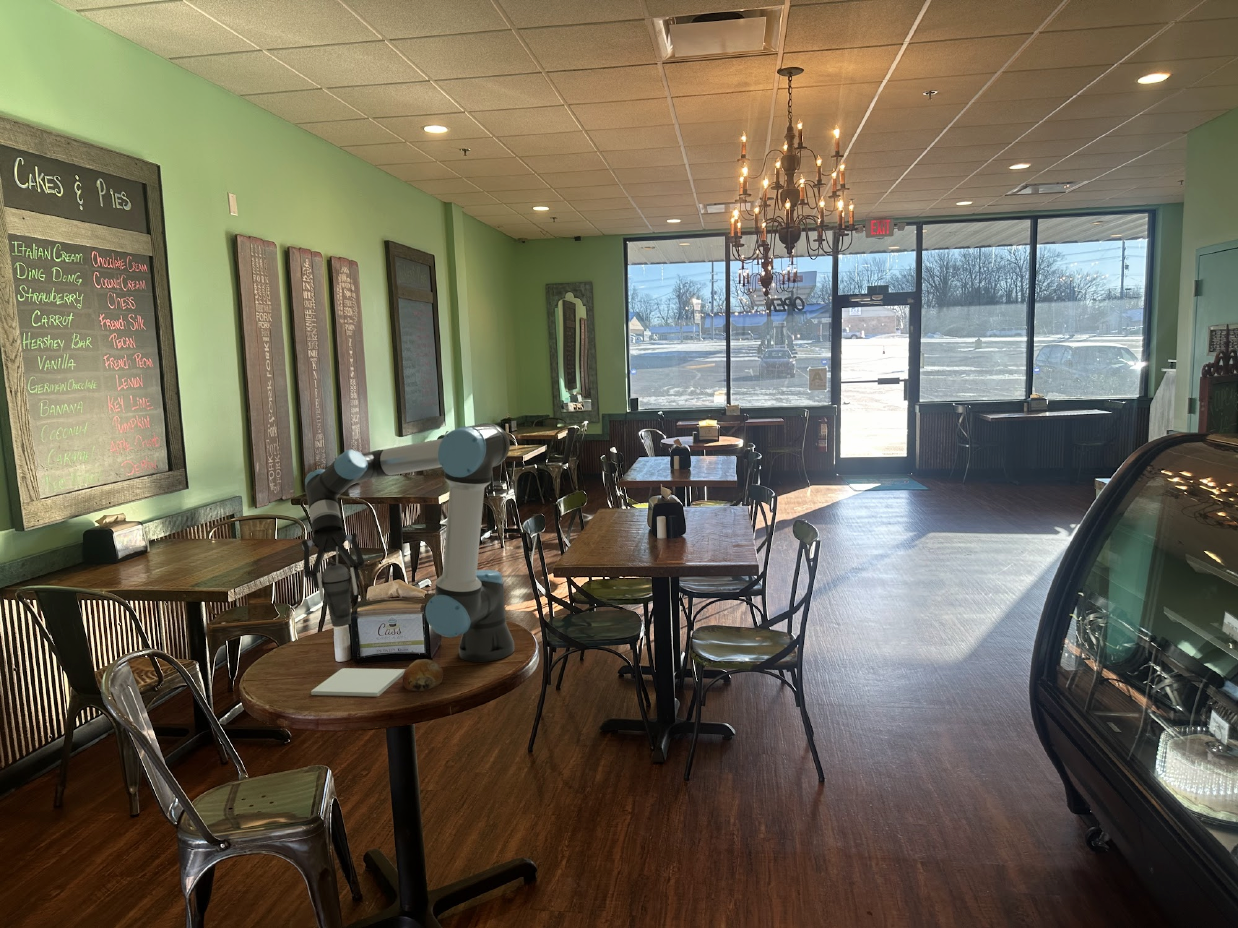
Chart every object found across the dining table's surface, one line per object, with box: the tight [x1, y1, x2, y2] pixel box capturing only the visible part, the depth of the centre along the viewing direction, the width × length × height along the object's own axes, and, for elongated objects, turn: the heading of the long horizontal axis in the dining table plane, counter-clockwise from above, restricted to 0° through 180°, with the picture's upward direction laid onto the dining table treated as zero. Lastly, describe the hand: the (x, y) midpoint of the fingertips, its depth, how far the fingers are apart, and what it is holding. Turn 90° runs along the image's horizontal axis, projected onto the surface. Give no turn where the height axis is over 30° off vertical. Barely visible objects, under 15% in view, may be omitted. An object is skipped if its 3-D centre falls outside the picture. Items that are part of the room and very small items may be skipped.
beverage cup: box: [321, 546, 352, 628], centre depth 207 cm, size 7×7×20 cm
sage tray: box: [310, 667, 406, 697], centre depth 210 cm, size 18×15×1 cm
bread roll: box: [402, 658, 444, 692], centre depth 207 cm, size 10×10×8 cm
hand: (339, 594), depth 203 cm, fingers closed on beverage cup, 7 cm apart
